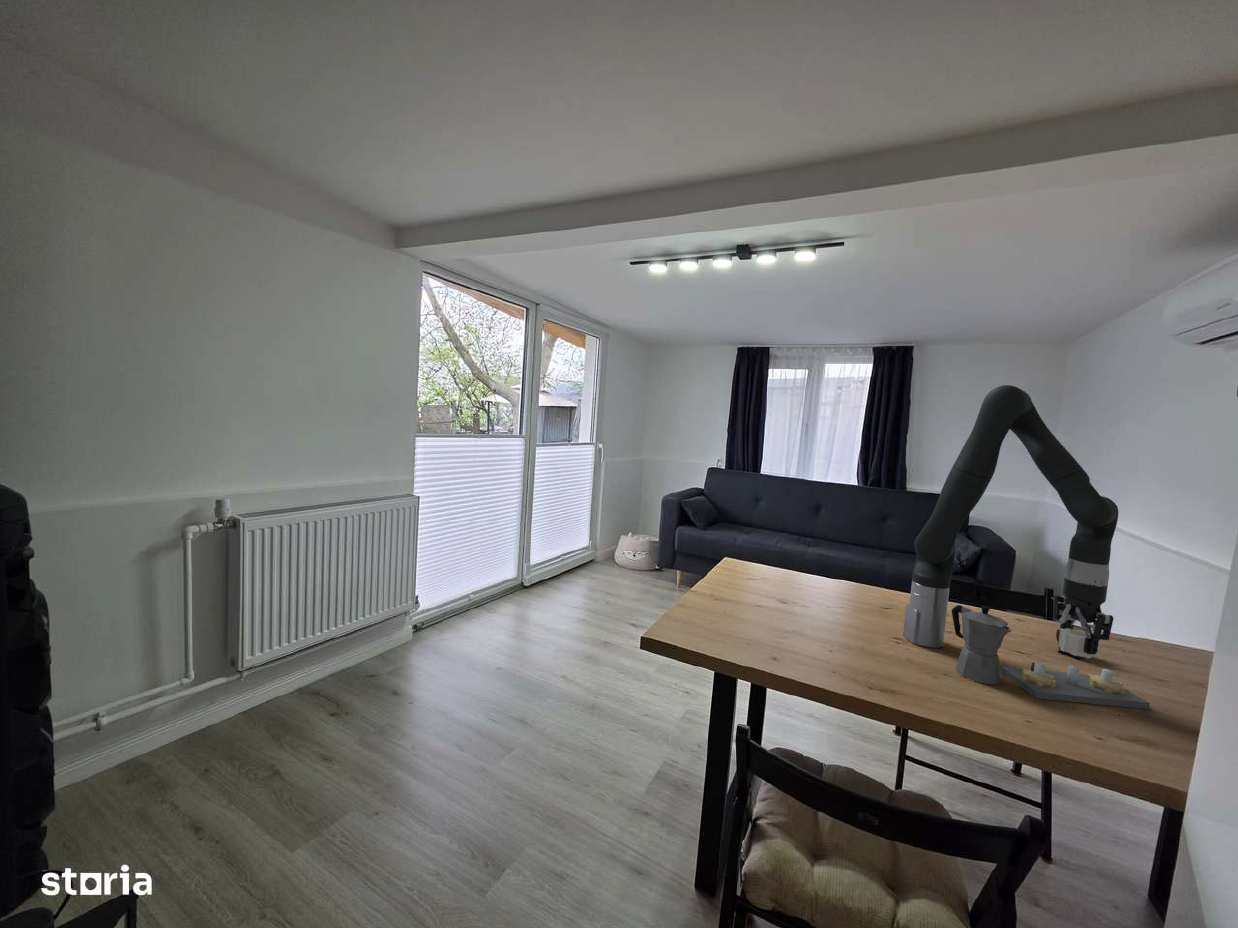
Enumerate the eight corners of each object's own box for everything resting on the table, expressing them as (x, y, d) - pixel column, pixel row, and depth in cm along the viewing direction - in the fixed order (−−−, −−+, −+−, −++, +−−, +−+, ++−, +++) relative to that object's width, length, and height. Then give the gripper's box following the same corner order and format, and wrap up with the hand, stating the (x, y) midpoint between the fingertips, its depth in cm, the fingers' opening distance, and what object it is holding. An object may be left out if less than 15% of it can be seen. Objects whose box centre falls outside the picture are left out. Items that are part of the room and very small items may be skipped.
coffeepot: (1018, 688, 119) (1027, 616, 117) (987, 691, 117) (996, 617, 115) (961, 657, 134) (968, 593, 132) (932, 659, 132) (939, 594, 130)
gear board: (1036, 698, 115) (1039, 675, 114) (1001, 672, 126) (1004, 651, 126) (1148, 708, 112) (1152, 685, 112) (1102, 681, 124) (1105, 660, 124)
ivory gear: (1072, 656, 116) (1075, 638, 115) (1051, 644, 122) (1053, 626, 122) (1103, 659, 115) (1105, 640, 115) (1079, 646, 122) (1082, 629, 121)
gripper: (1045, 569, 125) (1038, 632, 126) (1095, 588, 110) (1085, 659, 112) (1077, 571, 124) (1069, 635, 125) (1131, 590, 110) (1121, 662, 111)
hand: (1077, 646), depth 118 cm, fingers closed on ivory gear, 6 cm apart
